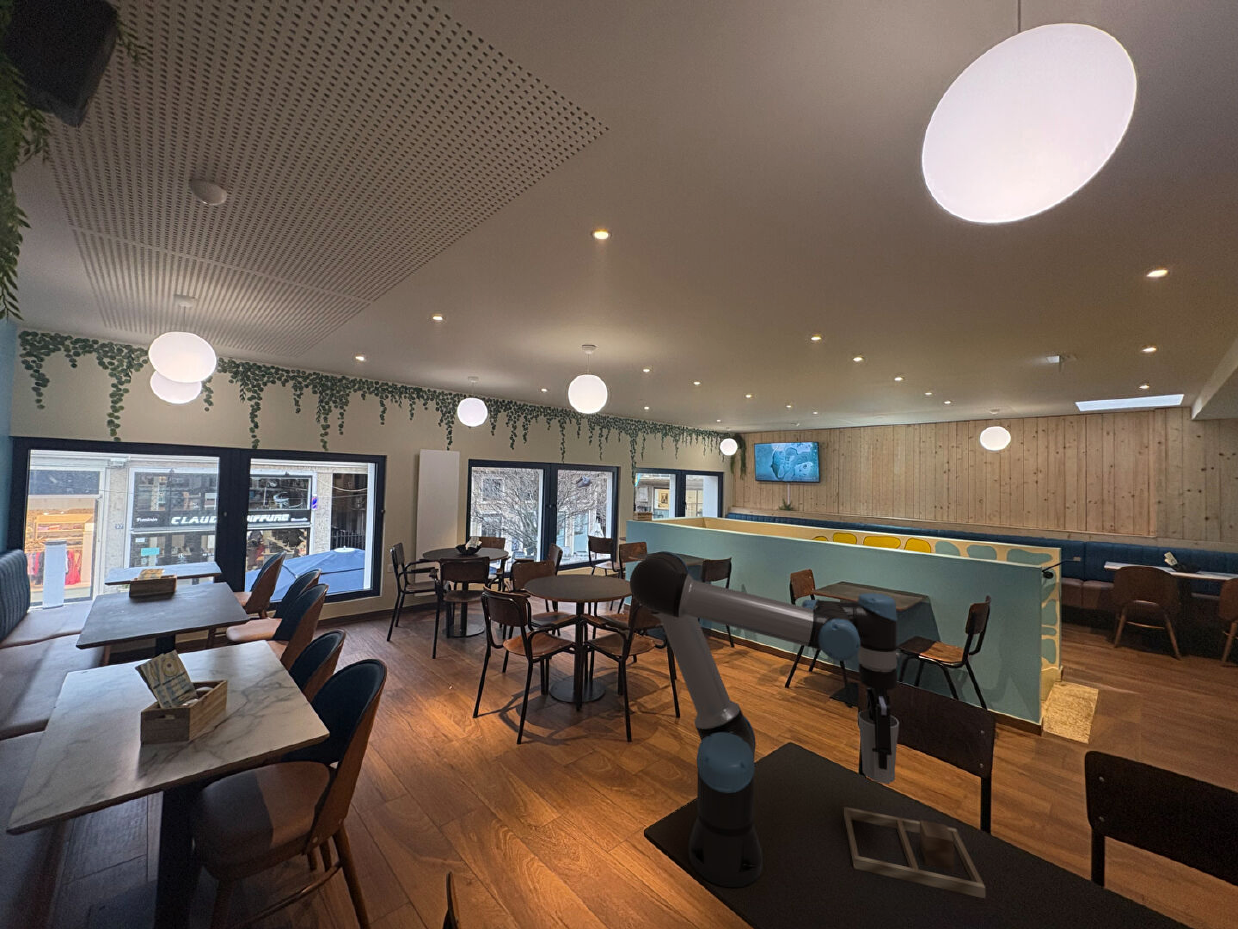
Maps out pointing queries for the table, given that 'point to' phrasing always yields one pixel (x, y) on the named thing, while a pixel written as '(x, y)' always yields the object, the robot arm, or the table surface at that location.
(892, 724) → the cup
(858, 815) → the frame
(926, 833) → the walnut block
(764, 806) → the table surface
